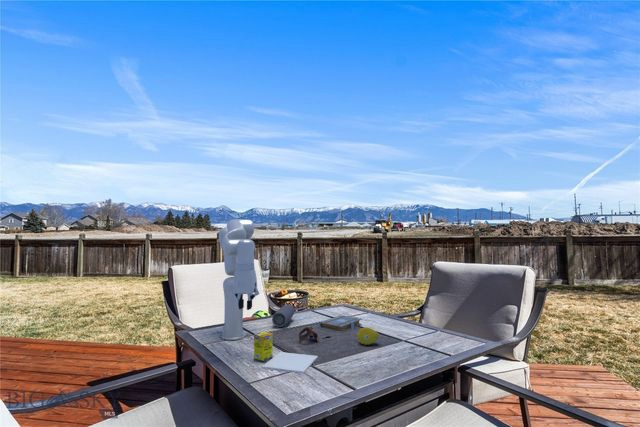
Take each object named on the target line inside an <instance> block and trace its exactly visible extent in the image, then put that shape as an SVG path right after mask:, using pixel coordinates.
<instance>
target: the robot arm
mask: <svg viewBox="0 0 640 427" xmlns="http://www.w3.org/2000/svg"><path fill="white" fill-rule="evenodd" d="M254 233H255V224H254V222H253V221H252V220H251V219H244V218H243V219H240V218H238V219H237V218H234V219H231V220H229V221H228V222H227V223H226V226H225V227H222V228H220V230H219V231H218V241H219V245H220V247H221V249H222V252H223V262H224V272H225V274H226V275H227V276H229V277H226V278H225V279H224V280H223V281H222V288H223V289H222V290H223V296H224V297H223V298H224V317H223V318H224V322H223V323H224V324H223V327H219V328H218V332H217V333H222V334H221V336H220V338H221V339H222V340H224V339H225V340H224V341H237V340H243V339H244V338H245V337H246V336H247V335H246V332H244V330H243V329H244V320H243V319H244V307H245V304H244V303H245V300H244V298H243V297H244V295H247V300H246V310H247V311H249V310H252V307H253V300H254V299H255V298H256V297H257V296H259V295H260V292H259V289H258V279H257V273H256V269H255V268H256V267H255V250H256V246H255V245H256V244H255V242H254V241H253V240H252V239H251V238H253V235H254Z"/></svg>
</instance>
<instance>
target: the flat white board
mask: <svg viewBox="0 0 640 427" xmlns="http://www.w3.org/2000/svg"><path fill="white" fill-rule="evenodd" d="M318 357H319V356H318V355H313V354H304V353H303V354H301V353H292V352H285V351H279V352H277V354H276V355H274V357H273V356H272V359H270V360H268V361H266V362H265V364H263V365H262V366H261V369H266V370H267V369H268V370H274V371H275V370H276V371H284V372H293V373H299V374H300V373H301V374H304V373H305V372H306V371H307V370H308V369H309V368H310V366H311V365H312V364H313V363H314V362H315V361H316V360H317V359H318Z"/></svg>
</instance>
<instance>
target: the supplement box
mask: <svg viewBox="0 0 640 427" xmlns="http://www.w3.org/2000/svg"><path fill="white" fill-rule="evenodd" d="M273 336H274V335H273V332H267V331H262V332H259V333H254V335H253V360H254V361H257V362H260V363H266V362H268V361H270V360H271V359H272V358H273V352H274V351H273V350H274V349H273V347H274V346H273V339H274V338H273Z"/></svg>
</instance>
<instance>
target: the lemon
mask: <svg viewBox="0 0 640 427" xmlns="http://www.w3.org/2000/svg"><path fill="white" fill-rule="evenodd" d="M379 335H380V334H379V333H378V332H377V331H376V330H374V329H373V328H370V327H362V328H360V329H359V330H358V333H356V337H357V340H358V342H359V343H360V344H362V345H364V346H369V345H372V344H374V343H375V342H376V341H377V340H378V339H379Z"/></svg>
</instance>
